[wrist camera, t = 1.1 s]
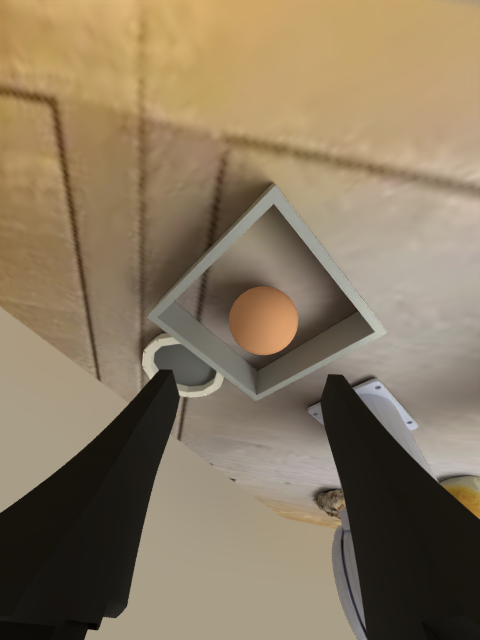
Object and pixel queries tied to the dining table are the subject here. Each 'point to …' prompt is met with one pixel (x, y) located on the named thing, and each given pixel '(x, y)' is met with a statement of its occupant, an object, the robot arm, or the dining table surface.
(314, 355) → the low pen
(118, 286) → the dining table surface
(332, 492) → the mineral rock
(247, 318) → the orange ball
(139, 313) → the dining table surface
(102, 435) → the robot arm
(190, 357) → the ring
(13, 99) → the dining table surface
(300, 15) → the dining table surface
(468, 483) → the bread roll
